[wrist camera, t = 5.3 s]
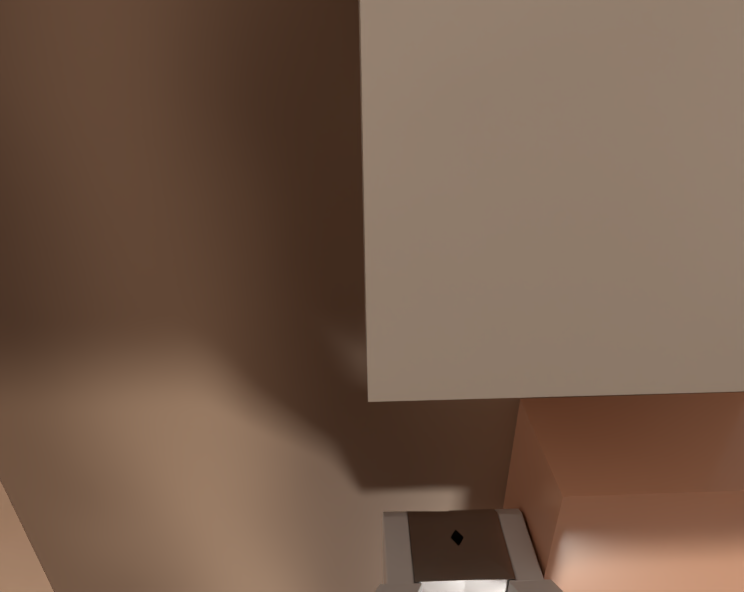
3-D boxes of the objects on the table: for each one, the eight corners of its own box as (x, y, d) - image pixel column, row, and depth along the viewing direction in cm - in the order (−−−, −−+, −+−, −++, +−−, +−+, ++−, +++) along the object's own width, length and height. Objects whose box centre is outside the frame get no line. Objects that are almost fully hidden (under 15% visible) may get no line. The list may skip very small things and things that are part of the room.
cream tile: (801, -81, 7) (1000, -120, 5) (683, 307, 10) (775, 390, 8) (356, -76, 7) (357, -113, 5) (365, 314, 10) (367, 402, 8)
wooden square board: (805, -123, 9) (981, -174, 7) (617, 505, 17) (665, 596, 14) (-117, -114, 9) (-310, -165, 6) (111, 521, 17) (66, 617, 14)
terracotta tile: (805, 389, 11) (917, 484, 9) (718, 572, 14) (787, 677, 12) (519, 398, 11) (562, 496, 9) (491, 581, 14) (518, 689, 12)
